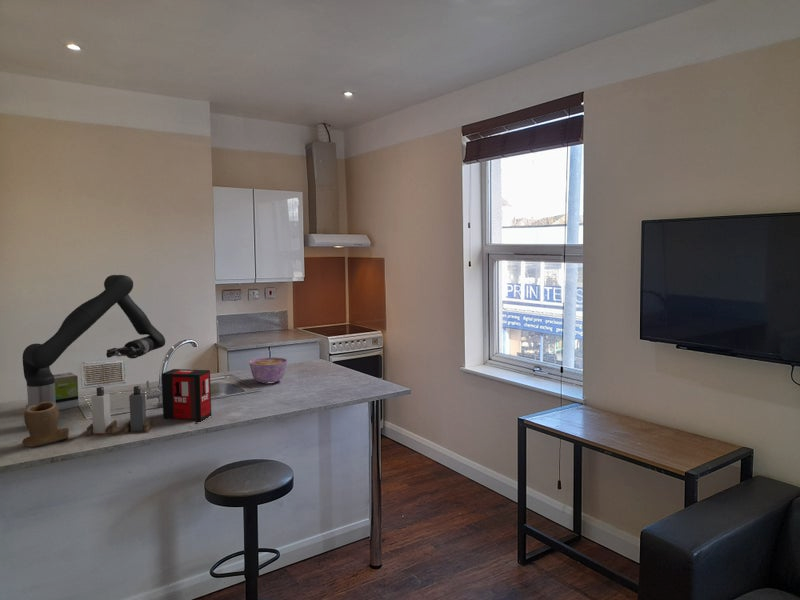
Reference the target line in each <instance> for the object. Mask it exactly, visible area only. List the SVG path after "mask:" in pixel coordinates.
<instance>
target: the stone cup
mask: <svg viewBox="0 0 800 600" xmlns="http://www.w3.org/2000/svg"><path fill="white" fill-rule="evenodd" d="M59 417H60V410H58V407H57V405H56V404H55V403H54V402H41V403H38V404H36V405H32V406H29V407H28V408H27V409H26V408H25V410H24V412H23V419H24V424H25V426H26V429H27V428H28V429H27V430H28V433H29V436H27V437H25V438H23V440H22V441H21V443H22V445H23V446H24V447H29V448H31V447H38V446H42V445H47V444H50V443H55V442H59V441H63V440H67V439H69V435H70V433H69V432H70V429H69V427H64V428H59V429H58V422H59V421H58V420H59Z"/></svg>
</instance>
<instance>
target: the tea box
mask: <svg viewBox="0 0 800 600" xmlns="http://www.w3.org/2000/svg"><path fill="white" fill-rule="evenodd" d="M53 376H54V383H55V399H56V405H57V407H58V410H59V411H61V410H68V408H69V409H74V408H73V407H75V408H78V407H79V381H78V380H79V379H78V375H76V374H75V373H73V372H65V373H58V374H57V373H55V374H53ZM77 406H78V407H77Z"/></svg>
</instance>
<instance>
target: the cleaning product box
mask: <svg viewBox="0 0 800 600" xmlns="http://www.w3.org/2000/svg"><path fill="white" fill-rule="evenodd" d="M161 392H162V416H163V417H162V419H164V420H181V421H183V420H185V421H195V422H201V421H203V420H205V419H206V418H208V417H209V416H211V417H212V398H211V397H212V396H211V395H212V394H211V393H212V391H211V370H210V369H182V368H181V369H180V368H173V369H169V370H168V371H165V372H162V373H161ZM208 419H209V418H208ZM206 420H207V419H206ZM206 420H205V421H206ZM203 422H204V421H203Z"/></svg>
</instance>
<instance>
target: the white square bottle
mask: <svg viewBox="0 0 800 600" xmlns="http://www.w3.org/2000/svg"><path fill="white" fill-rule="evenodd" d="M104 390H105V389H104V386H98V387H96V394H95V395H92V396H91V401H90V402H91V416H92V417H91V419H92V423H93V433H106V432H107V426H109V425H110V424H111V423H112V418H111V417H112V416H111V399H110V396H111V395H110V393H105V391H104Z"/></svg>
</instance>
